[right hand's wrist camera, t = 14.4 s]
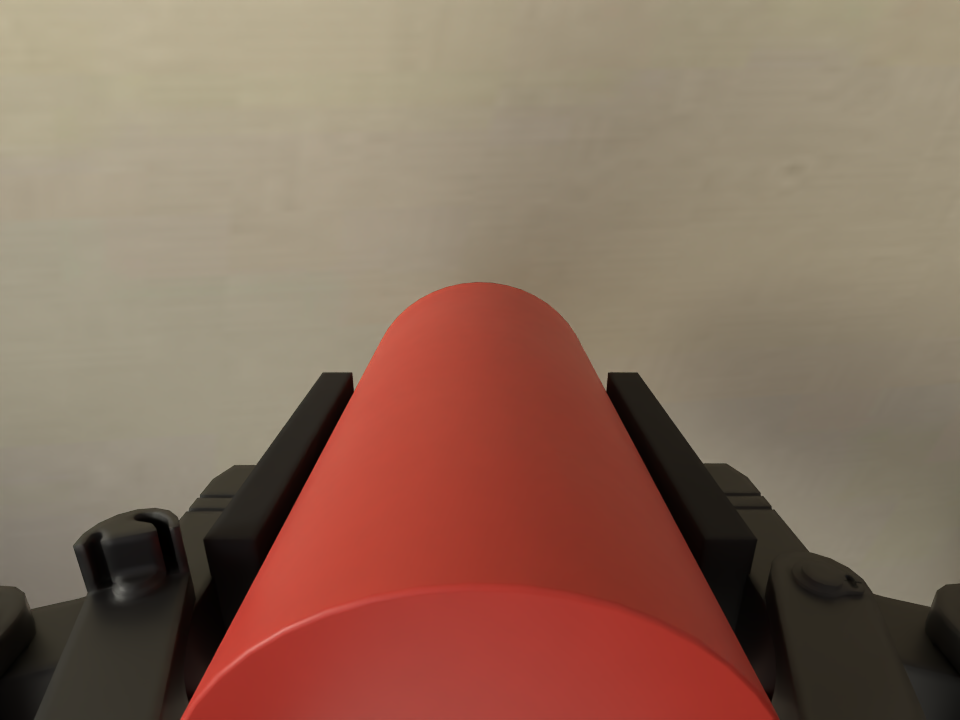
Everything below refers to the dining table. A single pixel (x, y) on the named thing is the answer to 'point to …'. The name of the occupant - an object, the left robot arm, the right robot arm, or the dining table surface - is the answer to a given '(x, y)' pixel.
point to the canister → (480, 549)
